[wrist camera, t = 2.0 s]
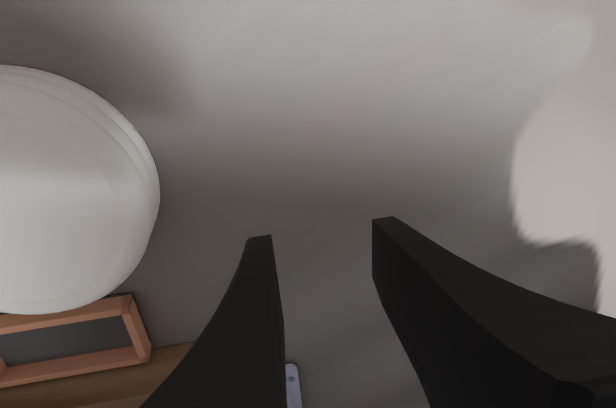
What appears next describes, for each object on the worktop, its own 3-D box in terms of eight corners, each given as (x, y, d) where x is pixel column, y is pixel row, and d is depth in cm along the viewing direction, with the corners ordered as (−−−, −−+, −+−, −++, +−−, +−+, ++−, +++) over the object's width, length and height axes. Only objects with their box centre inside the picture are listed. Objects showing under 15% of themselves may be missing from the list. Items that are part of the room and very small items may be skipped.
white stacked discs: (83, 301, 21) (58, 354, 18) (-139, 188, 17) (-221, 233, 14) (206, 171, 19) (201, 208, 16) (-14, 2, 15) (-80, 7, 12)
